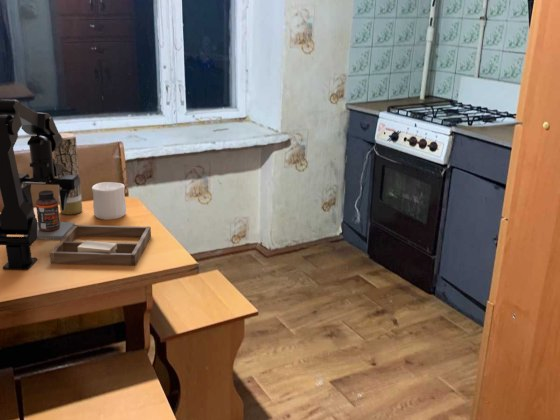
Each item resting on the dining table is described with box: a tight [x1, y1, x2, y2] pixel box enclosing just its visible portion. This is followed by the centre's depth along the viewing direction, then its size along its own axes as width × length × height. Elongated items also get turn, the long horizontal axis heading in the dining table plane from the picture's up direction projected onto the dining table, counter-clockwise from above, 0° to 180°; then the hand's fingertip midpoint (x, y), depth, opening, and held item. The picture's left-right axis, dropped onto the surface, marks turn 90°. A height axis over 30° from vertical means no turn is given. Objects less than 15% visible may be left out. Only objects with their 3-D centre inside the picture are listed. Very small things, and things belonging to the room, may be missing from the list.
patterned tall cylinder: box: [53, 132, 83, 215], centre depth 187 cm, size 7×7×25 cm
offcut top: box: [77, 240, 117, 253], centre depth 157 cm, size 4×9×2 cm, turn 80°
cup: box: [91, 181, 127, 220], centre depth 188 cm, size 10×10×10 cm
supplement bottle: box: [35, 189, 61, 232], centre depth 172 cm, size 6×6×11 cm
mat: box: [23, 221, 76, 241], centre depth 174 cm, size 11×11×1 cm
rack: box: [49, 224, 152, 267], centre depth 164 cm, size 20×22×3 cm
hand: (47, 209), depth 172 cm, fingers open, 9 cm apart
